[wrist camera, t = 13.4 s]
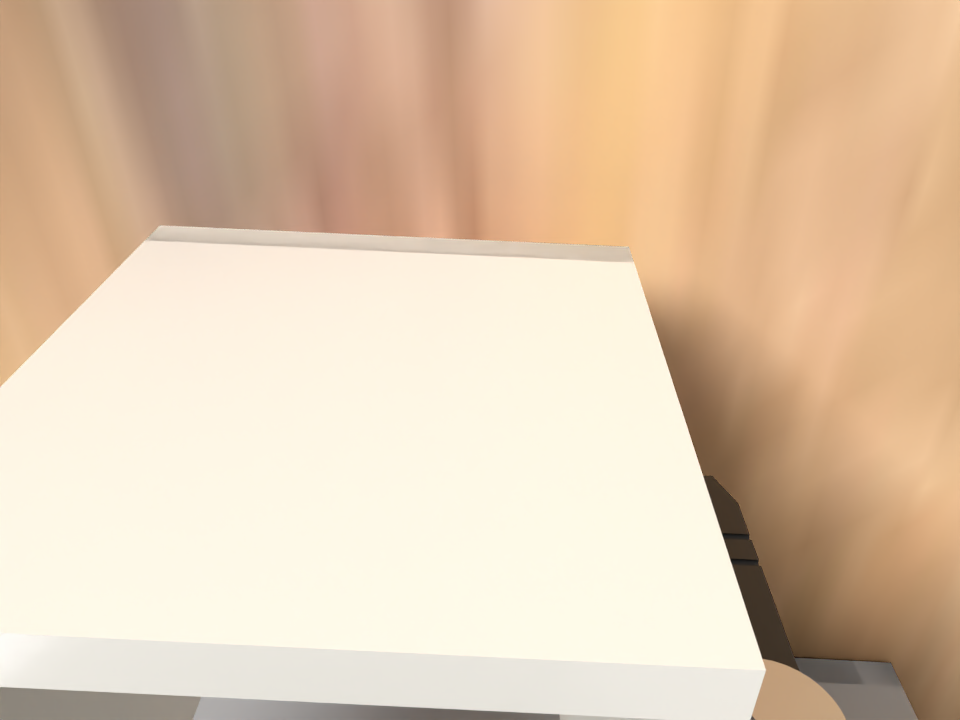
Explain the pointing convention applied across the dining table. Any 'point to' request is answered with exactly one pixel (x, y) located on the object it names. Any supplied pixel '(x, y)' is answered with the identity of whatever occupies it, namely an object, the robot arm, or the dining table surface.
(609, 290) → the white cube stool
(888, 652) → the dining table surface
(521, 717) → the tray
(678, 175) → the dining table surface
